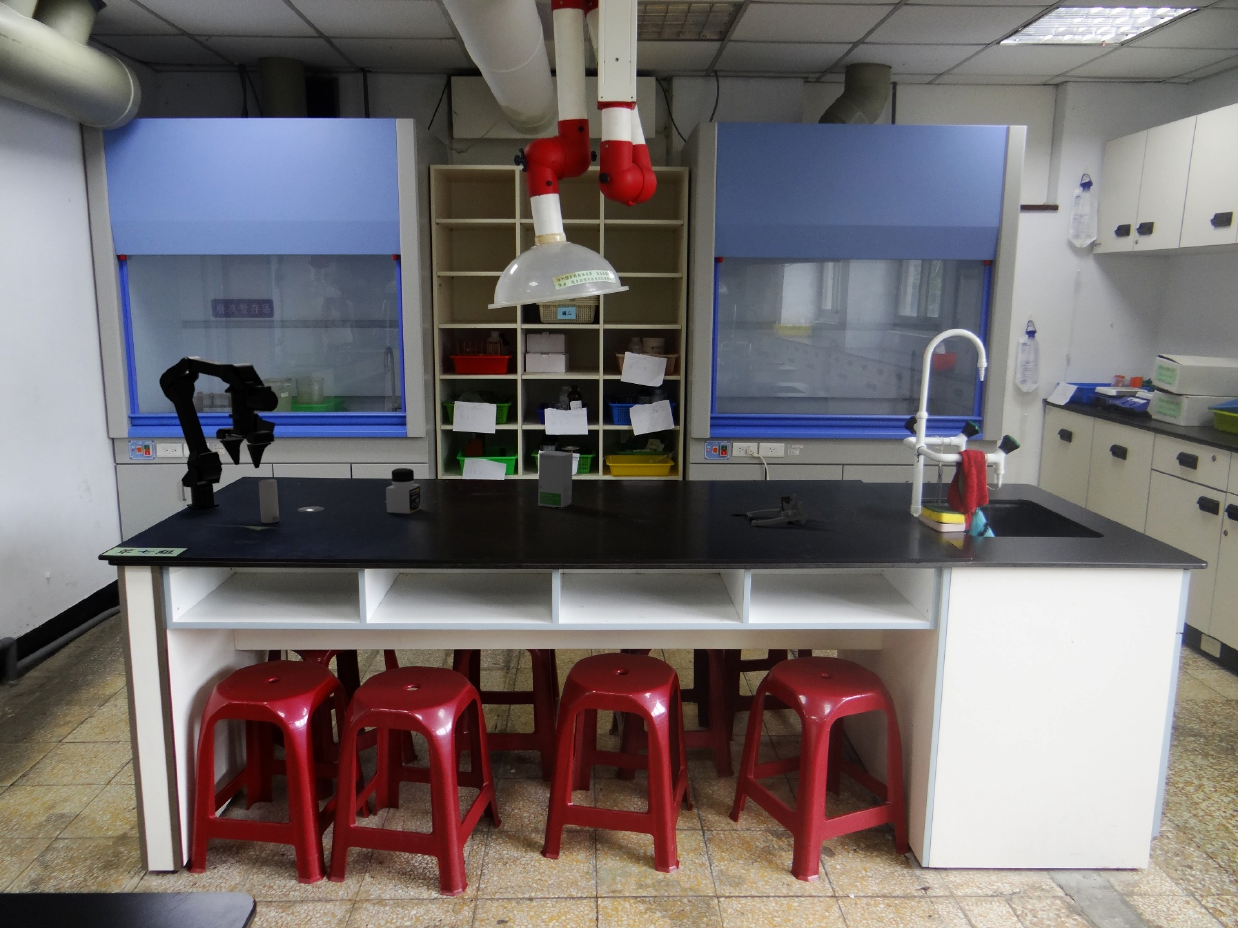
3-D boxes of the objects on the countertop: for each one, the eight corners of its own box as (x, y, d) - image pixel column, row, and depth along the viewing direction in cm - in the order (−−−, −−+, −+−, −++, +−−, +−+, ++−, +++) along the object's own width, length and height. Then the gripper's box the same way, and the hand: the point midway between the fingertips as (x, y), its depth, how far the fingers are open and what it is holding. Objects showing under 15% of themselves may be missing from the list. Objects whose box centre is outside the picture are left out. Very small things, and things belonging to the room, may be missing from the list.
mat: (230, 523, 230) (230, 522, 230) (271, 515, 240) (271, 514, 240) (258, 530, 223) (258, 529, 223) (298, 521, 233) (298, 520, 233)
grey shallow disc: (292, 513, 242) (292, 511, 242) (305, 508, 249) (305, 506, 249) (316, 514, 241) (316, 512, 241) (328, 509, 248) (328, 507, 248)
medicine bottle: (410, 514, 243) (408, 471, 241) (386, 512, 244) (384, 470, 242) (421, 508, 250) (419, 467, 248) (397, 507, 251) (396, 466, 249)
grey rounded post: (255, 521, 231) (253, 480, 229) (271, 518, 235) (268, 478, 233) (269, 525, 227) (266, 483, 226) (284, 521, 231) (282, 480, 229)
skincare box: (537, 506, 254) (537, 453, 252) (547, 501, 260) (547, 450, 258) (563, 508, 251) (563, 455, 248) (573, 504, 257) (573, 451, 254)
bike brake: (801, 514, 244) (729, 523, 245) (798, 490, 243) (727, 500, 244) (810, 526, 230) (734, 536, 232) (807, 501, 229) (731, 511, 230)
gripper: (290, 409, 239) (293, 465, 242) (249, 405, 249) (253, 459, 252) (253, 413, 230) (257, 471, 233) (212, 408, 240) (217, 464, 243)
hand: (247, 466), depth 240 cm, fingers open, 9 cm apart
